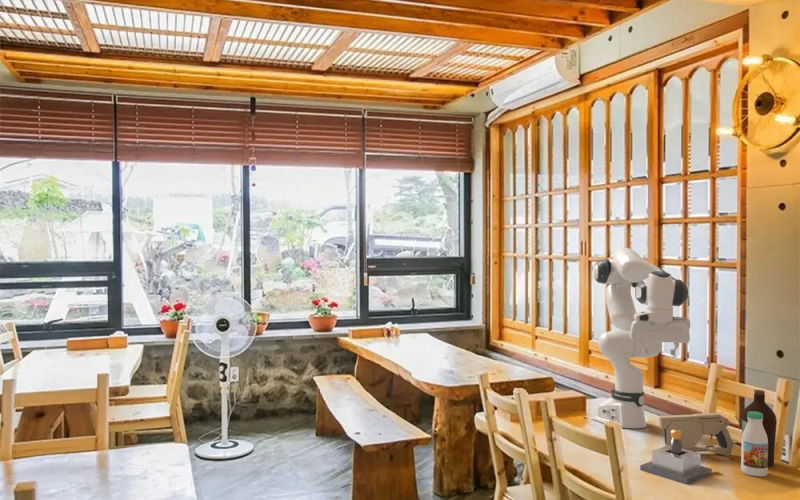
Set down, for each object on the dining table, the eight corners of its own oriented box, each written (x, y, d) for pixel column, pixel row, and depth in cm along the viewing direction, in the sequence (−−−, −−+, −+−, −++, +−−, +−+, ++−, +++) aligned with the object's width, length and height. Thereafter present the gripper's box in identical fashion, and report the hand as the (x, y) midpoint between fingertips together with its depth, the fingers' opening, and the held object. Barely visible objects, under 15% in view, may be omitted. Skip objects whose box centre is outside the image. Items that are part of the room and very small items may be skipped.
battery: (668, 466, 213) (669, 430, 213) (674, 464, 215) (674, 428, 215) (677, 469, 211) (678, 432, 211) (683, 467, 213) (683, 431, 213)
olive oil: (764, 457, 228) (766, 387, 228) (782, 468, 218) (783, 394, 218) (734, 457, 228) (736, 387, 228) (750, 467, 218) (752, 393, 218)
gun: (731, 453, 233) (728, 411, 233) (734, 456, 230) (731, 414, 230) (661, 456, 235) (658, 415, 235) (664, 459, 232) (661, 417, 232)
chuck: (640, 469, 214) (640, 450, 214) (666, 460, 224) (666, 441, 224) (686, 484, 202) (687, 463, 202) (712, 473, 212) (712, 453, 212)
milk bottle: (735, 470, 215) (736, 410, 215) (752, 468, 218) (753, 408, 217) (755, 478, 208) (756, 416, 208) (773, 475, 210) (774, 414, 210)
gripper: (688, 316, 236) (687, 354, 236) (629, 314, 240) (628, 351, 240) (692, 318, 230) (691, 357, 230) (631, 316, 234) (631, 354, 234)
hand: (659, 354), depth 235 cm, fingers open, 8 cm apart
